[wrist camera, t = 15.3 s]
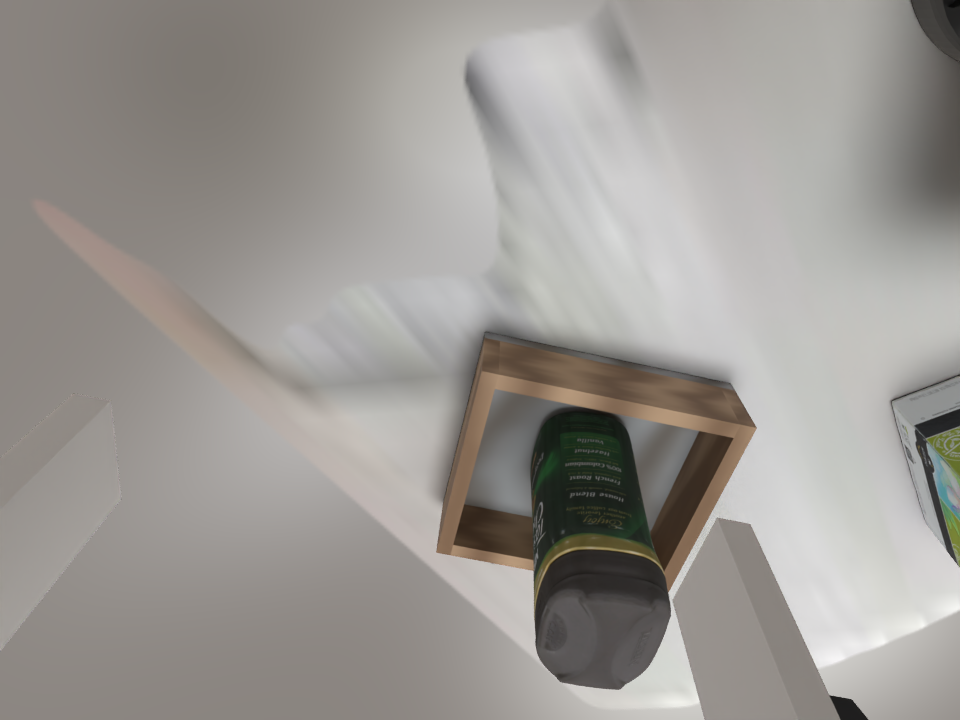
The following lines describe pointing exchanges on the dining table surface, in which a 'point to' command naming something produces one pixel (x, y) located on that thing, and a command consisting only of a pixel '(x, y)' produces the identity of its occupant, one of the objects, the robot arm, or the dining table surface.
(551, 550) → the coffee jar
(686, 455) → the walnut crate
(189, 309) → the dining table surface
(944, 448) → the tea box
